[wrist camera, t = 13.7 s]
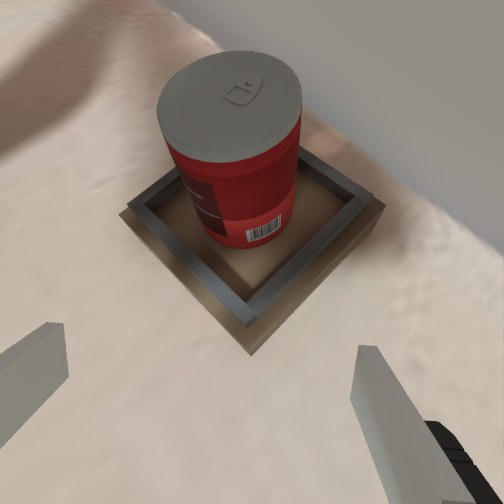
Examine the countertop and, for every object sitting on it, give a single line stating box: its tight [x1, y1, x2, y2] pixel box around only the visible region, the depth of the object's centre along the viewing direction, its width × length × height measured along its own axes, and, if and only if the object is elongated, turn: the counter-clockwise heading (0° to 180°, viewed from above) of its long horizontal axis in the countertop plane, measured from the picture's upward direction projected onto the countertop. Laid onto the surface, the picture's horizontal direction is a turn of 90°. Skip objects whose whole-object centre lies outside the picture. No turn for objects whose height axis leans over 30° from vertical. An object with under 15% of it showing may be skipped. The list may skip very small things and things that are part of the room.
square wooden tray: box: [118, 146, 386, 356], centre depth 27 cm, size 16×16×6 cm
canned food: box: [157, 51, 302, 249], centre depth 21 cm, size 8×8×11 cm
